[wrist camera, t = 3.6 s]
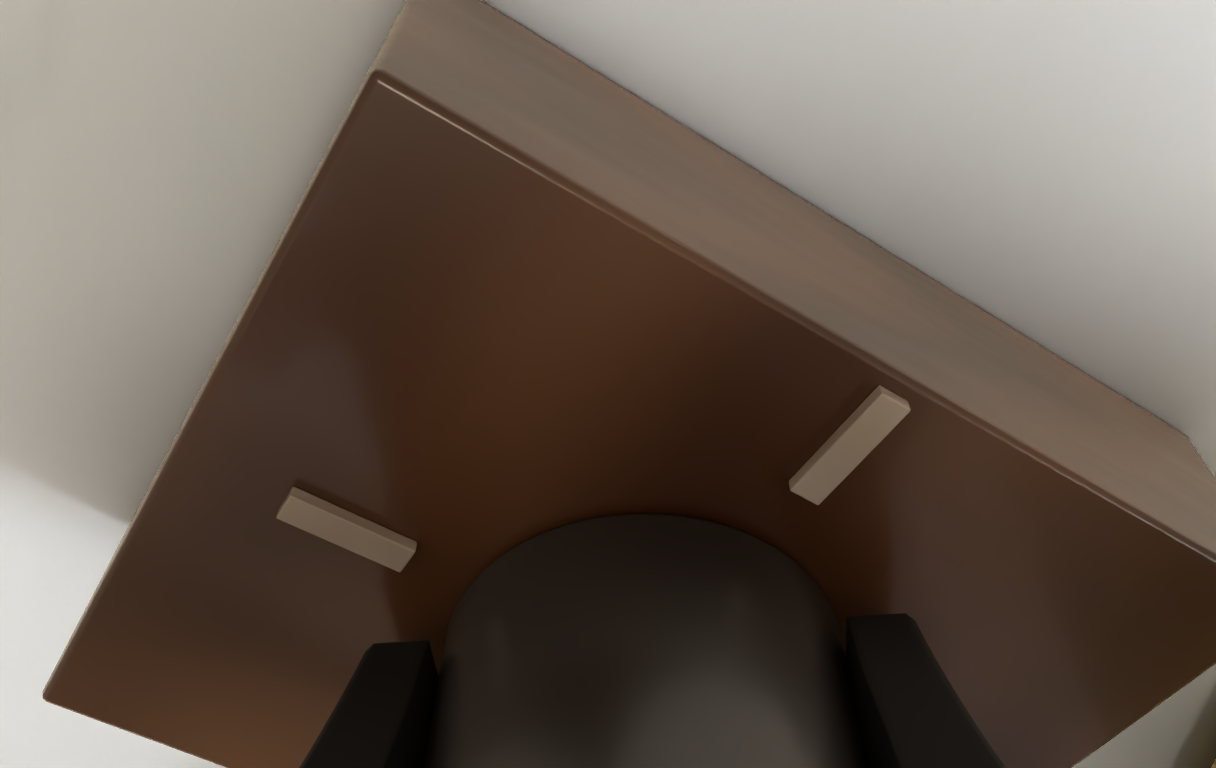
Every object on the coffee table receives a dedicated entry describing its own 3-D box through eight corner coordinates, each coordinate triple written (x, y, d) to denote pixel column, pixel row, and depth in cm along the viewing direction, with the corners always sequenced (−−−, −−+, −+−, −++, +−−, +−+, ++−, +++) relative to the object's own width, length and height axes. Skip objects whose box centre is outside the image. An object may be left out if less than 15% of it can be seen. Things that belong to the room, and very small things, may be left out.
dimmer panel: (1189, 435, 15) (1309, 616, 12) (768, 797, 19) (790, 987, 17) (425, -37, 12) (369, 74, 9) (126, 528, 16) (30, 713, 13)
